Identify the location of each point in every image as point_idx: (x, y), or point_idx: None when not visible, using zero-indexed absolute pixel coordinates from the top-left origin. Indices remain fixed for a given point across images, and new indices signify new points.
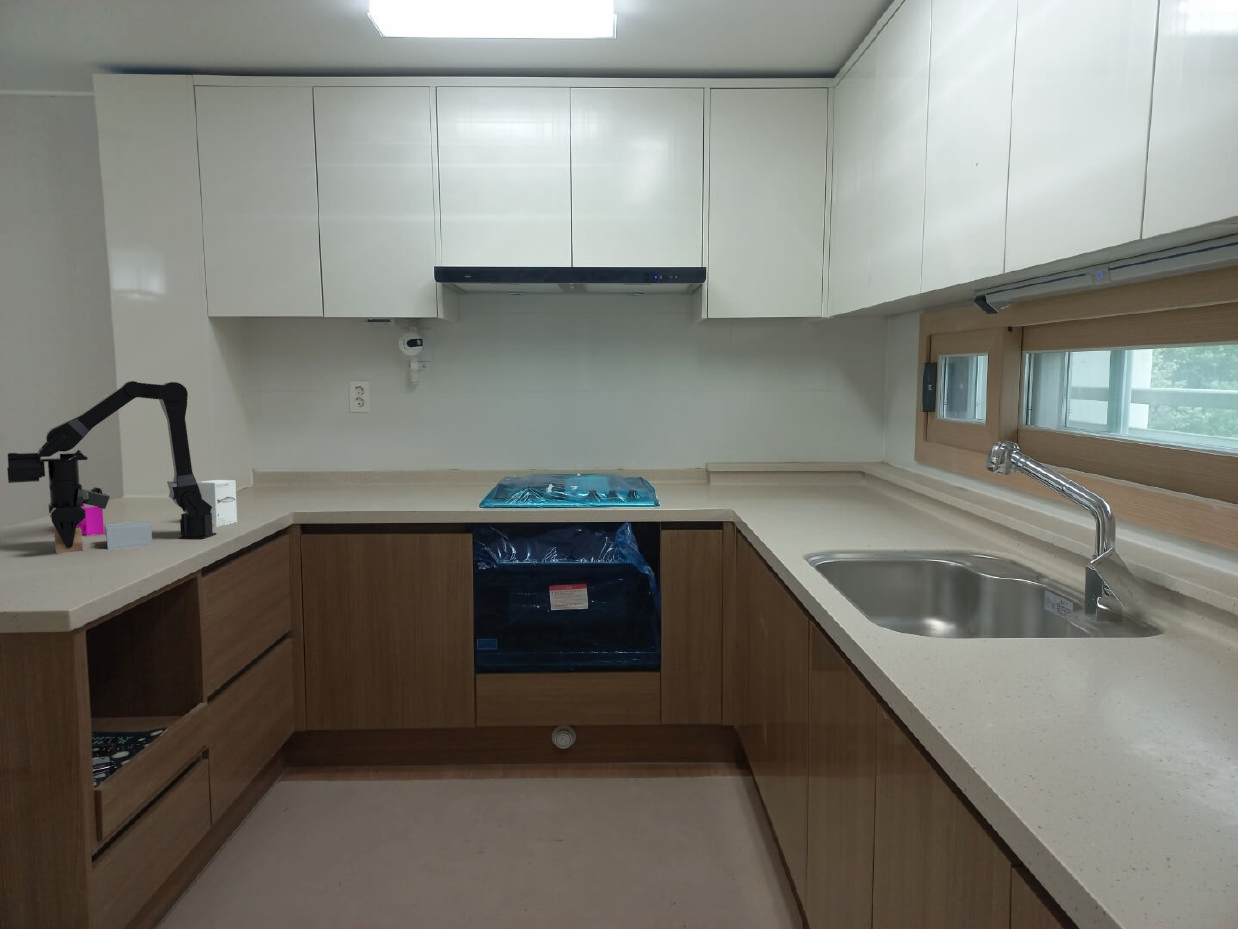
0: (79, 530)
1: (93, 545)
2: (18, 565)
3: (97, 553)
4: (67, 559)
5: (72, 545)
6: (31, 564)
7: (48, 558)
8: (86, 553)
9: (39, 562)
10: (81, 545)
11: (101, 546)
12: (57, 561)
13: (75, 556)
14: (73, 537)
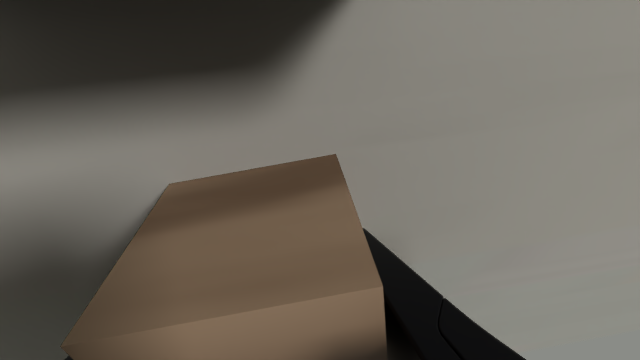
0: (383, 298)
1: (91, 107)
2: (565, 329)
3: (548, 29)
4: (607, 190)
5: (368, 233)
6: (588, 299)
7: (488, 273)
8: (479, 113)
9: (568, 284)
10: (342, 179)
11: (175, 27)
12: (620, 224)
13: (543, 165)
14: (415, 276)
